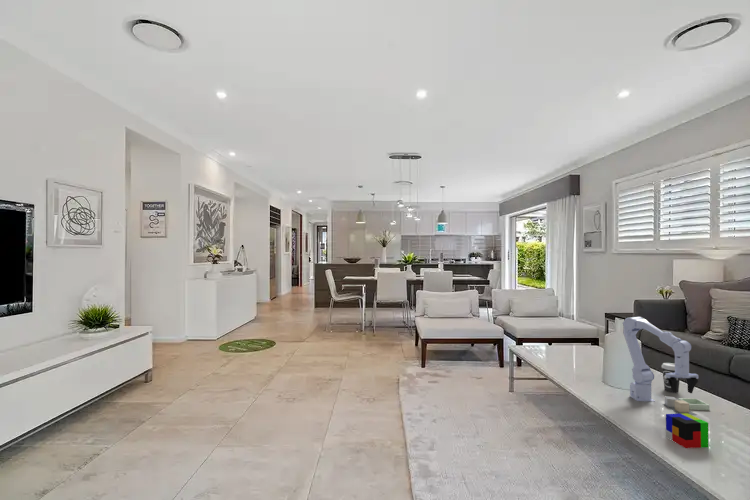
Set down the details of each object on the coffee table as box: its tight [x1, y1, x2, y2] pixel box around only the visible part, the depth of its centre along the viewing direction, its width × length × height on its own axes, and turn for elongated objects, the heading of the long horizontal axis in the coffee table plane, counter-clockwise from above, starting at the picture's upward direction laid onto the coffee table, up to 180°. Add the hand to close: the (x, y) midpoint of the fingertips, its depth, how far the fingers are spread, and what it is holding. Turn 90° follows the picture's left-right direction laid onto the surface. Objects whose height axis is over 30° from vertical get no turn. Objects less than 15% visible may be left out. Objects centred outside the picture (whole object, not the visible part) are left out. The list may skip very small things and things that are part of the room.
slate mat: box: [662, 403, 697, 416], centre depth 207 cm, size 8×14×1 cm, turn 175°
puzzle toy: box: [665, 413, 709, 449], centre depth 172 cm, size 10×10×10 cm
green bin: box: [677, 397, 710, 411], centre depth 211 cm, size 9×9×3 cm
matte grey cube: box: [664, 395, 678, 408], centre depth 212 cm, size 4×4×4 cm
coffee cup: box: [660, 362, 681, 394], centre depth 237 cm, size 10×10×15 cm
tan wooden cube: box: [675, 399, 690, 413], centre depth 205 cm, size 4×4×4 cm
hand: (682, 392), depth 205 cm, fingers open, 7 cm apart
